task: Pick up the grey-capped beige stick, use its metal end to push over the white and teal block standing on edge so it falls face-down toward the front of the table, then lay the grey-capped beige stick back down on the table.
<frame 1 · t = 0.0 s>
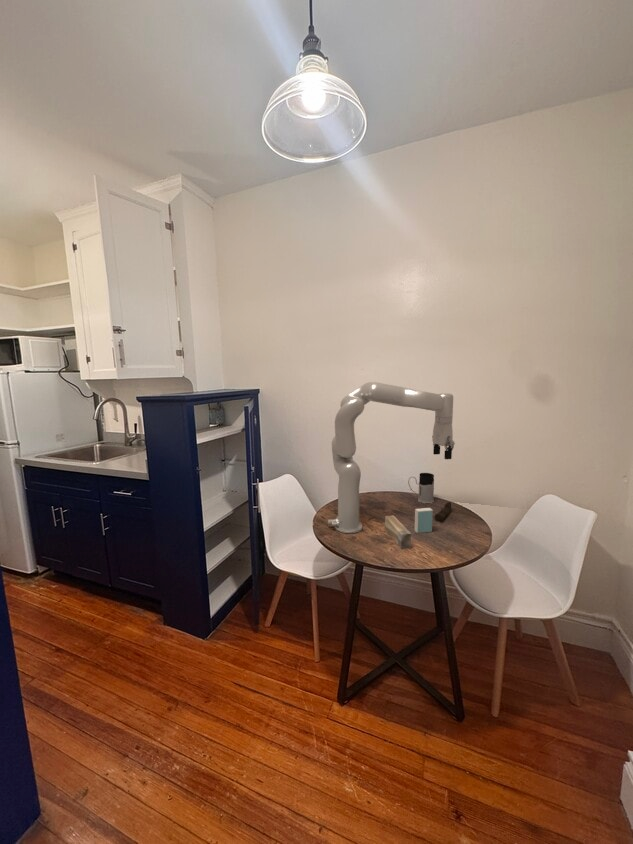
hand: (442, 456, 150), 31 cm above the table, tool pointing down, fingers open, 9 cm apart
glass holder: (420, 501, 179), on the table
white and teal block: (423, 530, 144), on the table
hand tool: (443, 515, 160), on the table
grey-capped beige stick: (397, 537, 138), on the table
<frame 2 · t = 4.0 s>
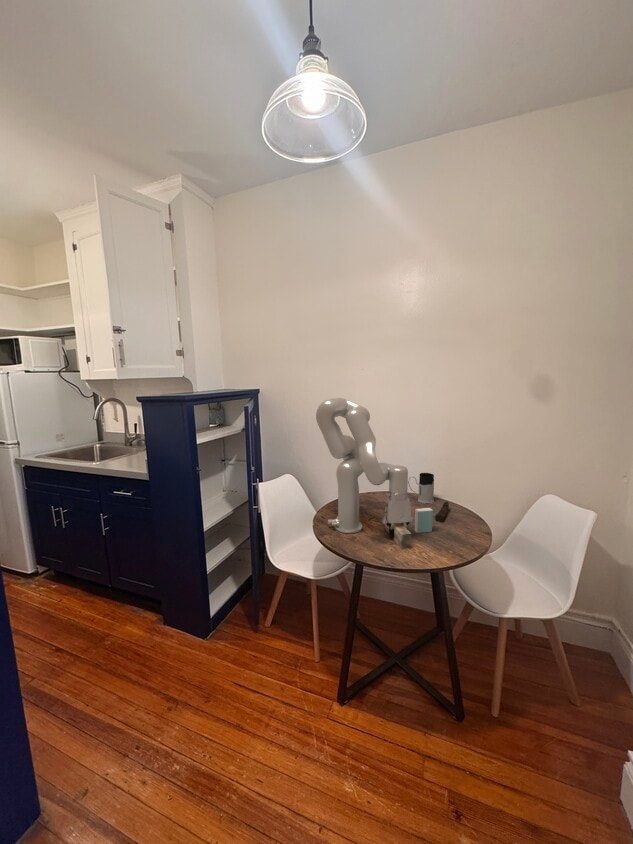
hand: (397, 535, 137), 1 cm above the table, tool pointing down, fingers closed on grey-capped beige stick, 4 cm apart
grey-capped beige stick: (397, 537, 138), on the table, touching gripper
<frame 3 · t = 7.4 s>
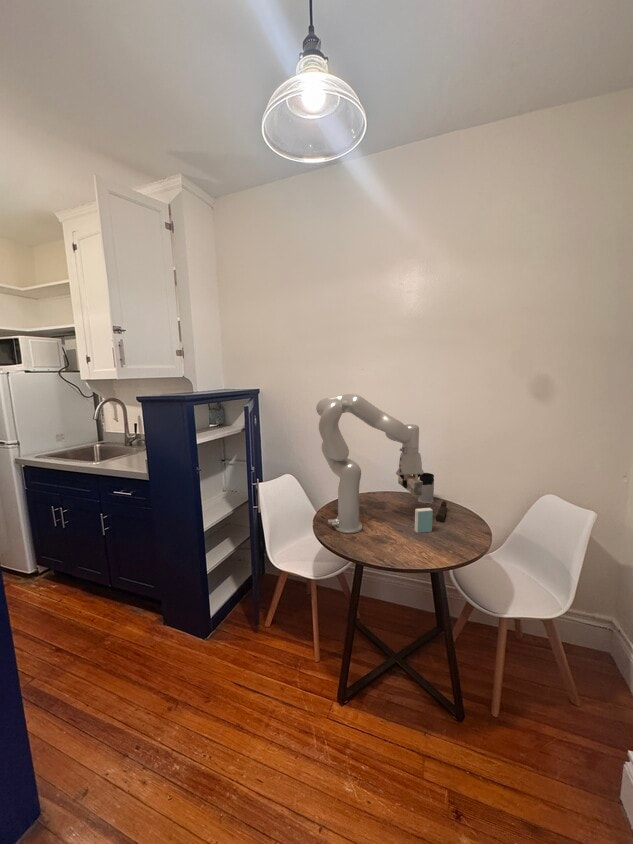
hand: (409, 486, 156), 15 cm above the table, tool pointing down, fingers closed on grey-capped beige stick, 4 cm apart
grey-capped beige stick: (409, 488, 156), point 15 cm above the table, touching gripper
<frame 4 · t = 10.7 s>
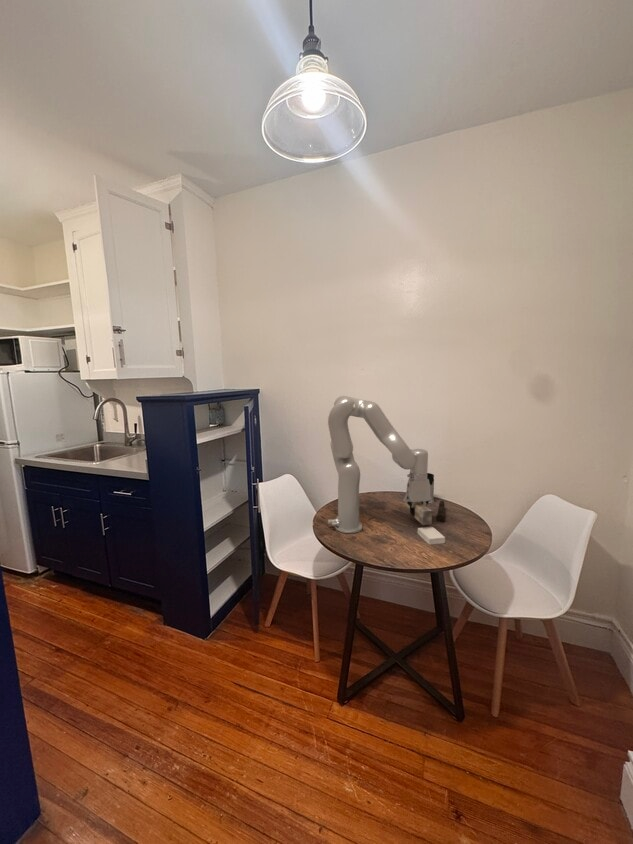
hand: (417, 514, 149), 5 cm above the table, tool pointing down, fingers closed on grey-capped beige stick, 4 cm apart
white and teal block: (425, 530, 142), point 1 cm above the table, tilted 90°
grey-capped beige stick: (417, 515, 149), point 4 cm above the table, touching gripper
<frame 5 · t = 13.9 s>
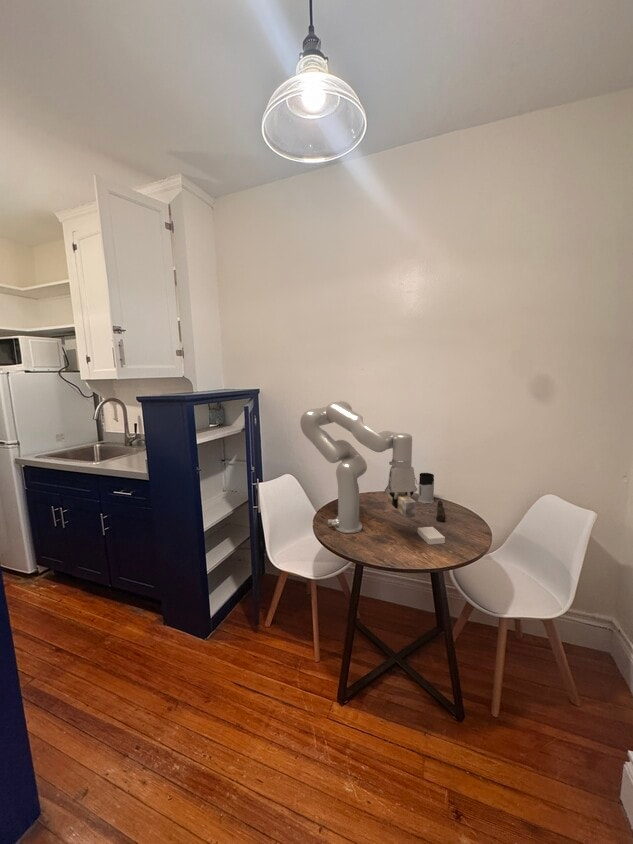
hand: (400, 506, 133), 15 cm above the table, tool pointing down, fingers closed on grey-capped beige stick, 4 cm apart
grey-capped beige stick: (400, 508, 133), point 14 cm above the table, touching gripper
when the fingers open (3 cm above the table, at t = 16.5 s): grey-capped beige stick drops 2 cm, on the table.
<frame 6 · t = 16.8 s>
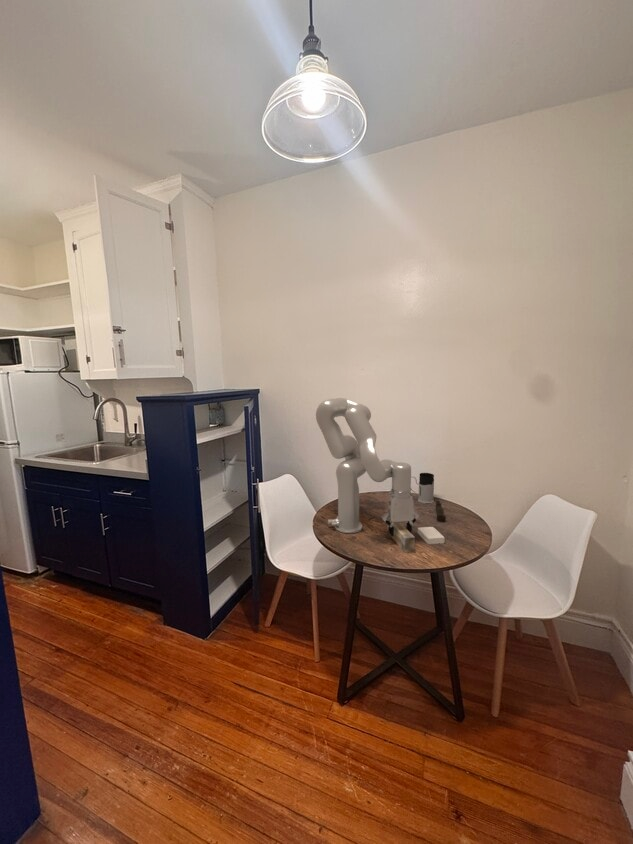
hand: (400, 533, 134), 3 cm above the table, tool pointing down, fingers open, 7 cm apart
grey-capped beige stick: (400, 541, 135), on the table
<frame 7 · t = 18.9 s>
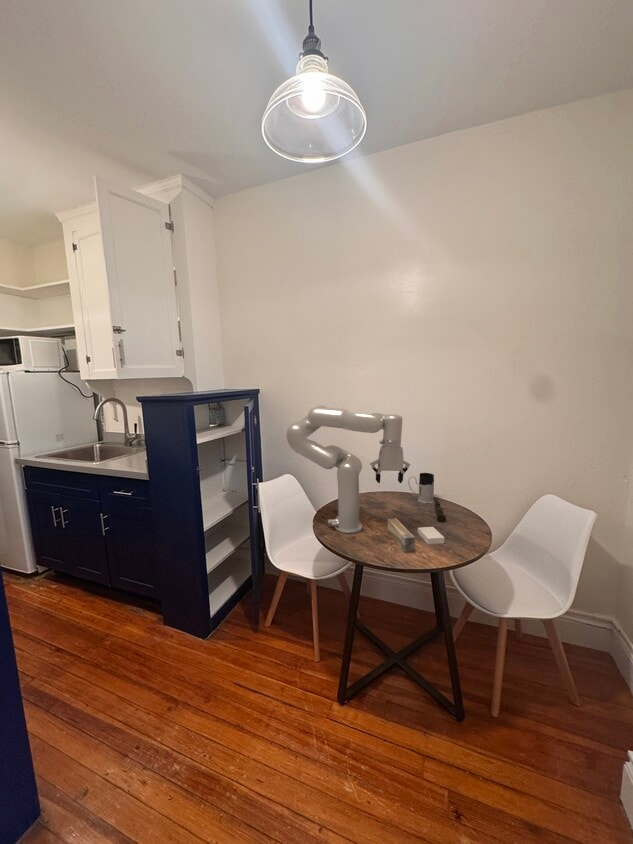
hand: (389, 482, 140), 23 cm above the table, tool pointing down, fingers open, 9 cm apart
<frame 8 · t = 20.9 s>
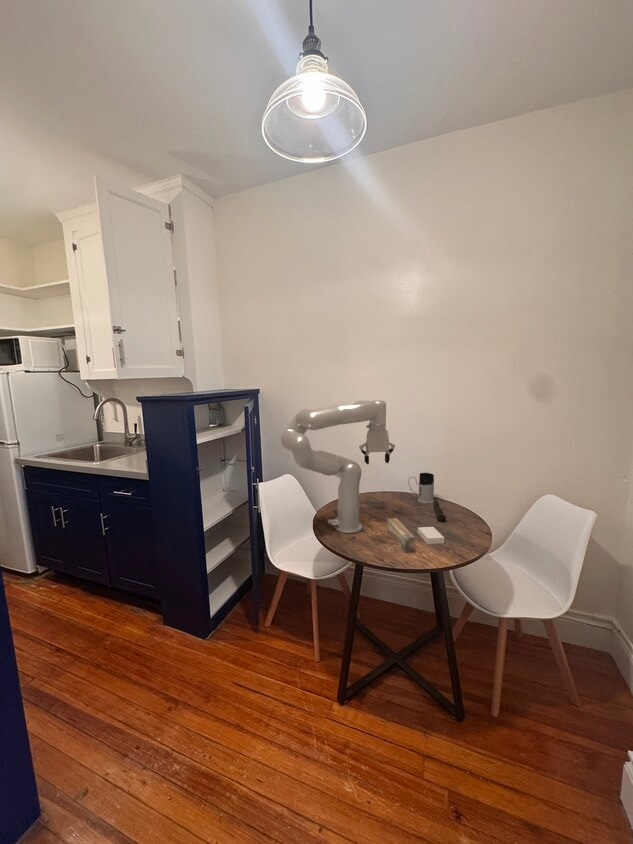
hand: (377, 463, 151), 28 cm above the table, tool pointing down, fingers open, 9 cm apart
at the end: white and teal block tilted 90°; grey-capped beige stick inside the target area (0.0 cm from its centre), on the table; the gripper is holding nothing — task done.
